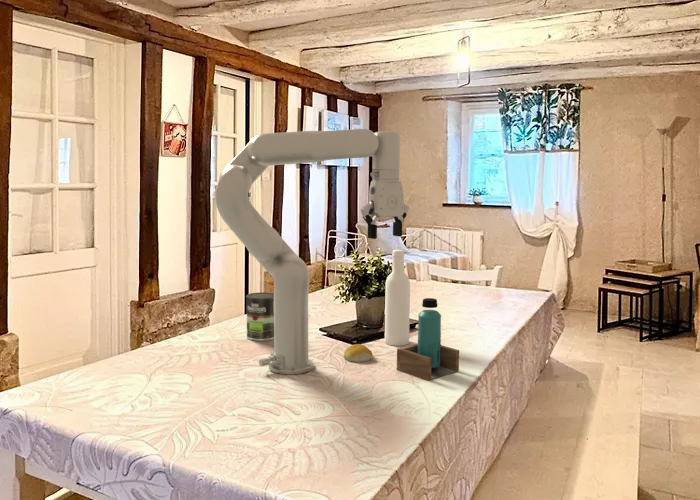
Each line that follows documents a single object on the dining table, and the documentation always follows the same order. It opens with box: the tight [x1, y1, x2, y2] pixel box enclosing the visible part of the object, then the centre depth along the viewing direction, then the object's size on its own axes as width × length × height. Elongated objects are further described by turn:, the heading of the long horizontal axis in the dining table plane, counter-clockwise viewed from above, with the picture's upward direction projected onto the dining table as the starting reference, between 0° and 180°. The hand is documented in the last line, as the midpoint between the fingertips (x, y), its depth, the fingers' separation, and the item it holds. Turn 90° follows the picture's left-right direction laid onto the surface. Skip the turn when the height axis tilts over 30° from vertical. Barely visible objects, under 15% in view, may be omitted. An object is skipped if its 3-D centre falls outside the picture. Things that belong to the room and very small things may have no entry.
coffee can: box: [245, 291, 274, 342], centre depth 207 cm, size 10×10×14 cm
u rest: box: [396, 343, 460, 381], centre depth 174 cm, size 12×12×6 cm
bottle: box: [384, 249, 411, 347], centre depth 200 cm, size 8×8×30 cm
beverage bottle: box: [416, 297, 442, 368], centre depth 173 cm, size 6×7×20 cm
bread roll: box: [343, 343, 374, 363], centre depth 186 cm, size 8×9×4 cm
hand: (385, 237), depth 178 cm, fingers open, 9 cm apart
